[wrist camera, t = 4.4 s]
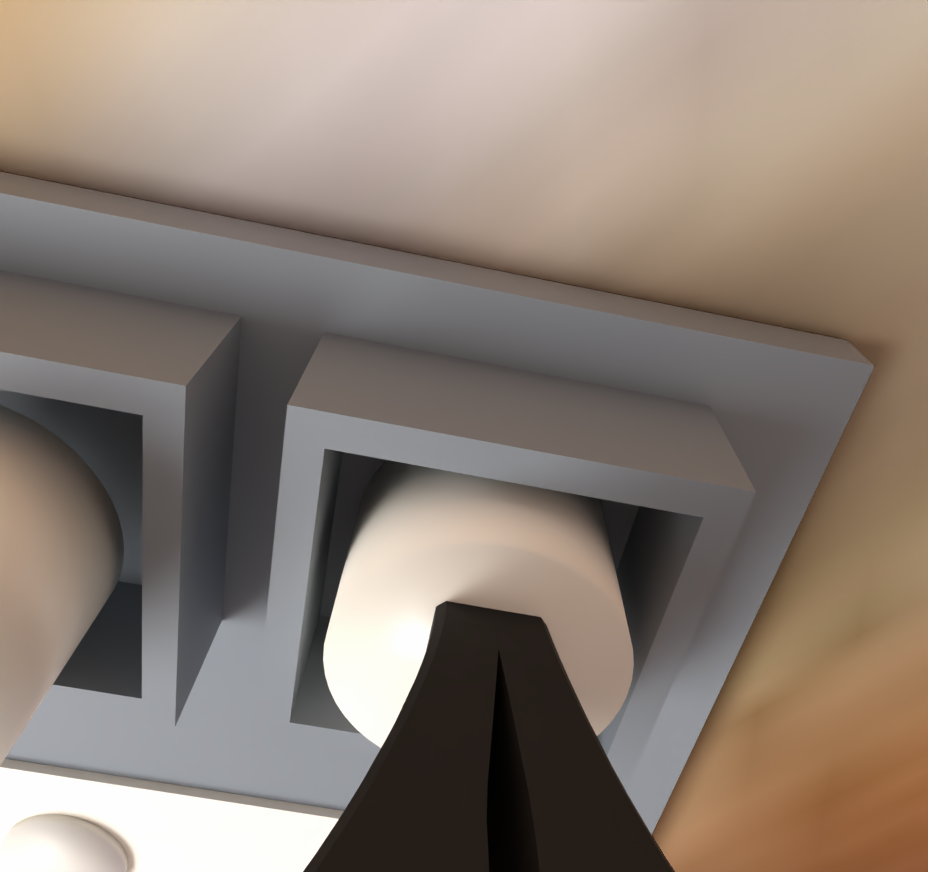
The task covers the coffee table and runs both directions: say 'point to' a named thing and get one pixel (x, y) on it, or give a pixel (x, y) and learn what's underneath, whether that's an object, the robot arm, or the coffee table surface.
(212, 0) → the coffee table surface
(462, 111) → the coffee table surface
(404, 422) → the console
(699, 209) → the coffee table surface
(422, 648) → the button
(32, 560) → the button middle
